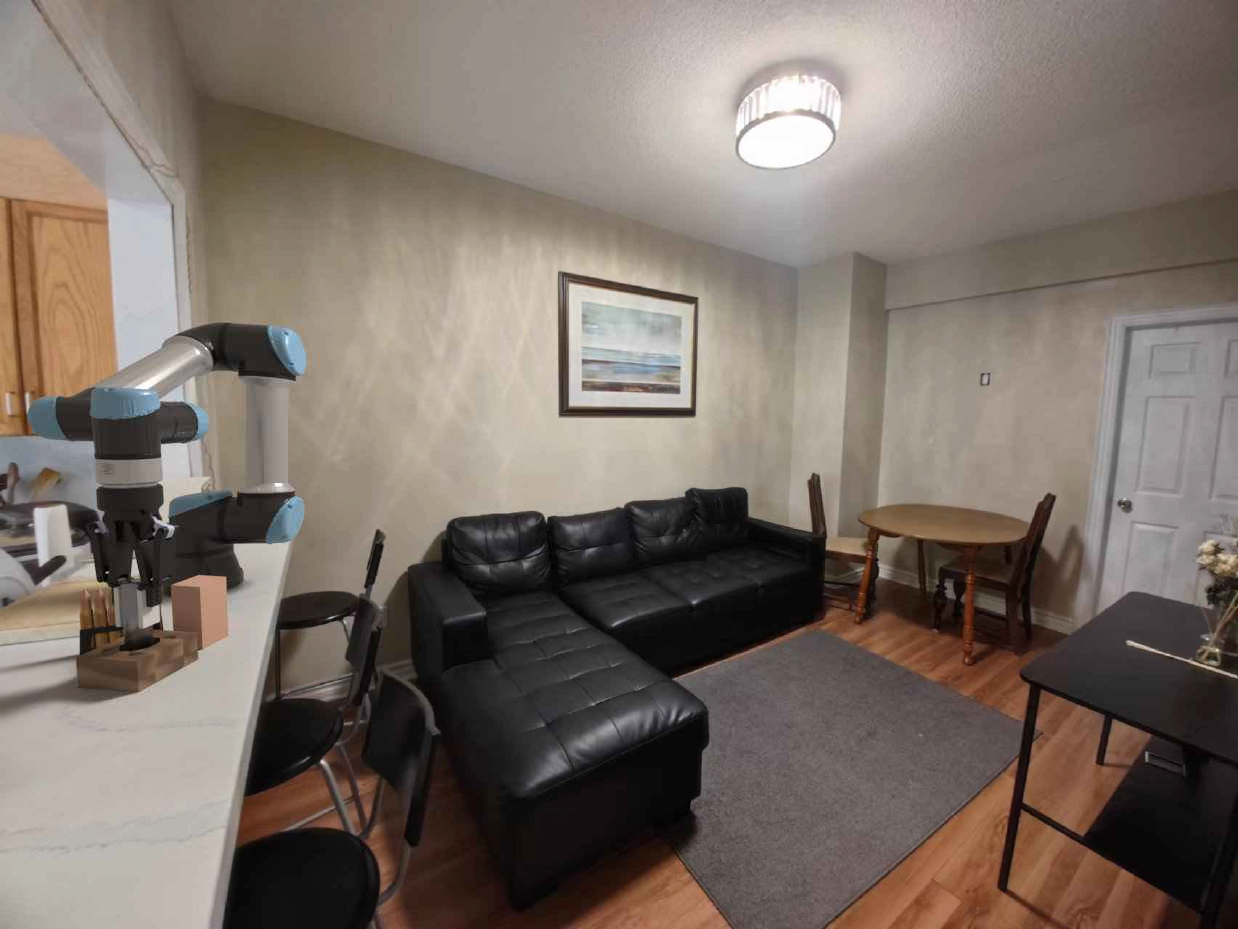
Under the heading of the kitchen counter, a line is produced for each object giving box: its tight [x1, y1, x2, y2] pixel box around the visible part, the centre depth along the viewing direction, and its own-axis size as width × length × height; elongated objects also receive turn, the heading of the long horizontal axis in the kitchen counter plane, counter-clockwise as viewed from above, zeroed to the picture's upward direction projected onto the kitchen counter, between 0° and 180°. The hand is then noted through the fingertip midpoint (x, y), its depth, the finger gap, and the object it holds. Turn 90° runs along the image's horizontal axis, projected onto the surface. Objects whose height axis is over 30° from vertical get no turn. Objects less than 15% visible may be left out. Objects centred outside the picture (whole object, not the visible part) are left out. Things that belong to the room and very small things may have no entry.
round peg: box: [121, 577, 154, 652], centre depth 78 cm, size 3×3×12 cm
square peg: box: [170, 575, 229, 650], centre depth 89 cm, size 6×6×12 cm
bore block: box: [75, 629, 199, 693], centre depth 79 cm, size 10×10×5 cm
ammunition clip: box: [79, 587, 165, 656], centre depth 85 cm, size 11×2×12 cm, turn 121°
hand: (138, 623), depth 78 cm, fingers closed on round peg, 3 cm apart
